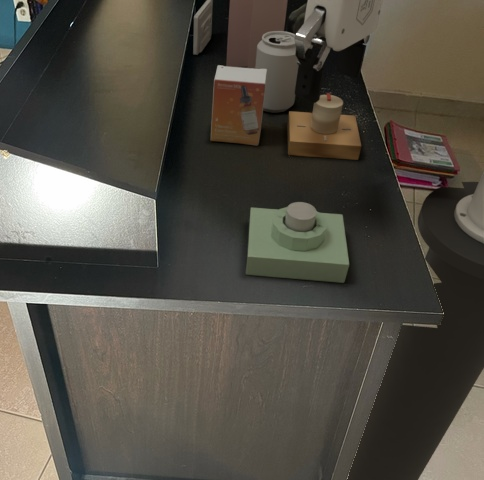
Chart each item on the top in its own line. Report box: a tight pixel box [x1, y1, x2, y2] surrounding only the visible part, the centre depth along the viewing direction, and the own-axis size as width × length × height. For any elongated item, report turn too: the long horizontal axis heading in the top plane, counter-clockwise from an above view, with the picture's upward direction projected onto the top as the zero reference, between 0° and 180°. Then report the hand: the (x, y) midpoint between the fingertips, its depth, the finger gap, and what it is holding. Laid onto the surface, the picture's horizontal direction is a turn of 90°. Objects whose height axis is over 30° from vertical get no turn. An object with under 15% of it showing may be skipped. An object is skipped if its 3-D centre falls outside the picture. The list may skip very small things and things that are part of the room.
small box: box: [209, 64, 267, 147], centre depth 92 cm, size 8×6×10 cm
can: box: [255, 30, 299, 114], centre depth 99 cm, size 8×8×12 cm
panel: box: [286, 110, 362, 161], centre depth 94 cm, size 11×10×3 cm
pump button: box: [285, 201, 317, 232], centre depth 70 cm, size 4×4×2 cm
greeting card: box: [225, 0, 289, 69], centre depth 109 cm, size 11×7×15 cm, turn 105°
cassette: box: [192, 0, 214, 56], centre depth 120 cm, size 12×2×8 cm, turn 164°
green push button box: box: [245, 206, 350, 284], centre depth 72 cm, size 12×10×5 cm
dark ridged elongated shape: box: [285, 2, 307, 35], centre depth 127 cm, size 5×3×15 cm
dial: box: [310, 92, 344, 134], centre depth 91 cm, size 4×4×5 cm
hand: (327, 85), depth 72 cm, fingers open, 9 cm apart
